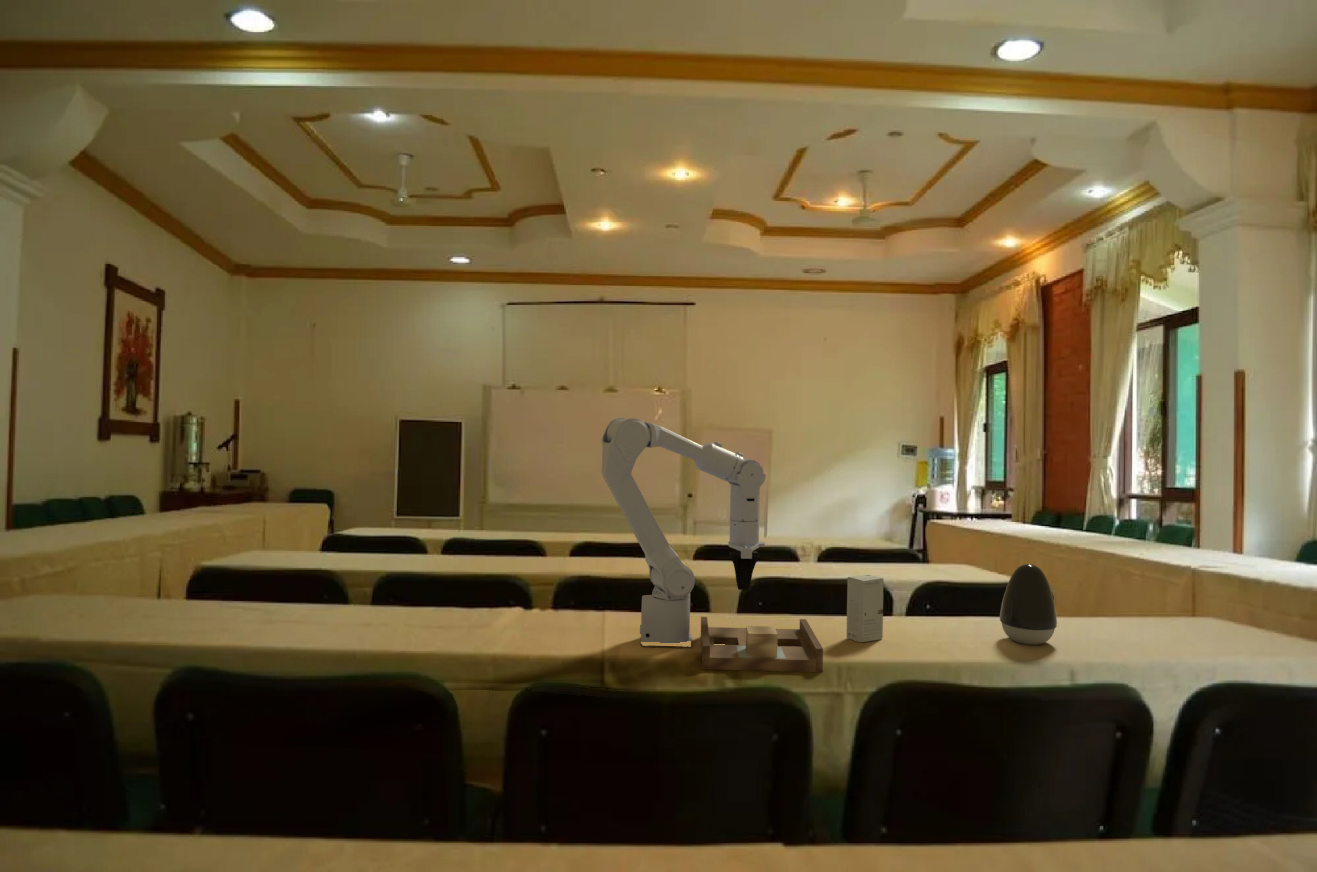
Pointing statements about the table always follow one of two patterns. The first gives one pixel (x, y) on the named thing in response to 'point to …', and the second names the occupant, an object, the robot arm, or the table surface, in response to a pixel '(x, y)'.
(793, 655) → the trap board
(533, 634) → the table surface
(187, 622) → the table surface
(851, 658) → the table surface
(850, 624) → the skincare box
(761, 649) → the maple block
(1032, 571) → the two-tone egg figurine
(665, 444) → the robot arm
